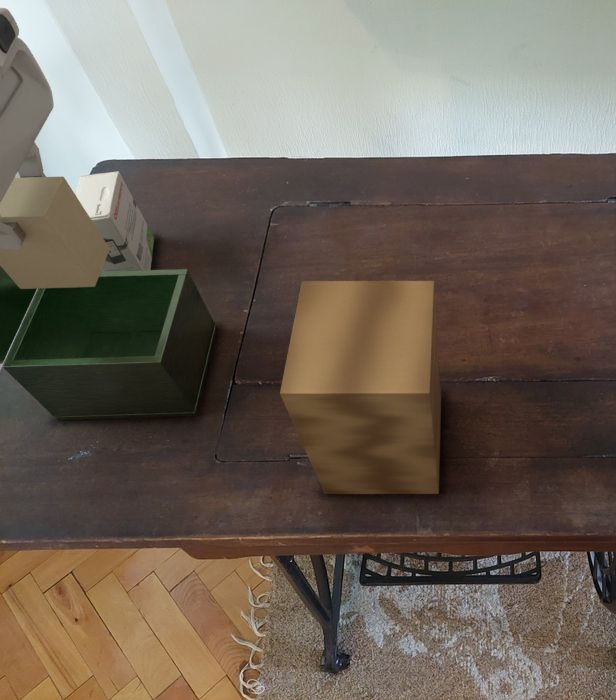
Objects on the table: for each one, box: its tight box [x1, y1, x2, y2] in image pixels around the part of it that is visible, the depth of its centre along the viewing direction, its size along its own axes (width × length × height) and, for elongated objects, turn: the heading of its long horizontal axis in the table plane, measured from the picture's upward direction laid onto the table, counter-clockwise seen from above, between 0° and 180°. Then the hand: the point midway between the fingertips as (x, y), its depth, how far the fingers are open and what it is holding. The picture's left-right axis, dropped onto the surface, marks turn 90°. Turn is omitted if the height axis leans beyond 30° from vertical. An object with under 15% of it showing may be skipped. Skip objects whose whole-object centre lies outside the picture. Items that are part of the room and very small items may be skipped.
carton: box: [0, 176, 110, 289], centre depth 59 cm, size 5×7×9 cm
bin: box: [2, 268, 218, 421], centre depth 73 cm, size 16×13×11 cm
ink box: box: [75, 170, 155, 271], centre depth 83 cm, size 9×5×12 cm, turn 10°
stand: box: [279, 280, 442, 495], centre depth 63 cm, size 12×12×20 cm
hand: (28, 217), depth 57 cm, fingers closed on carton, 5 cm apart
